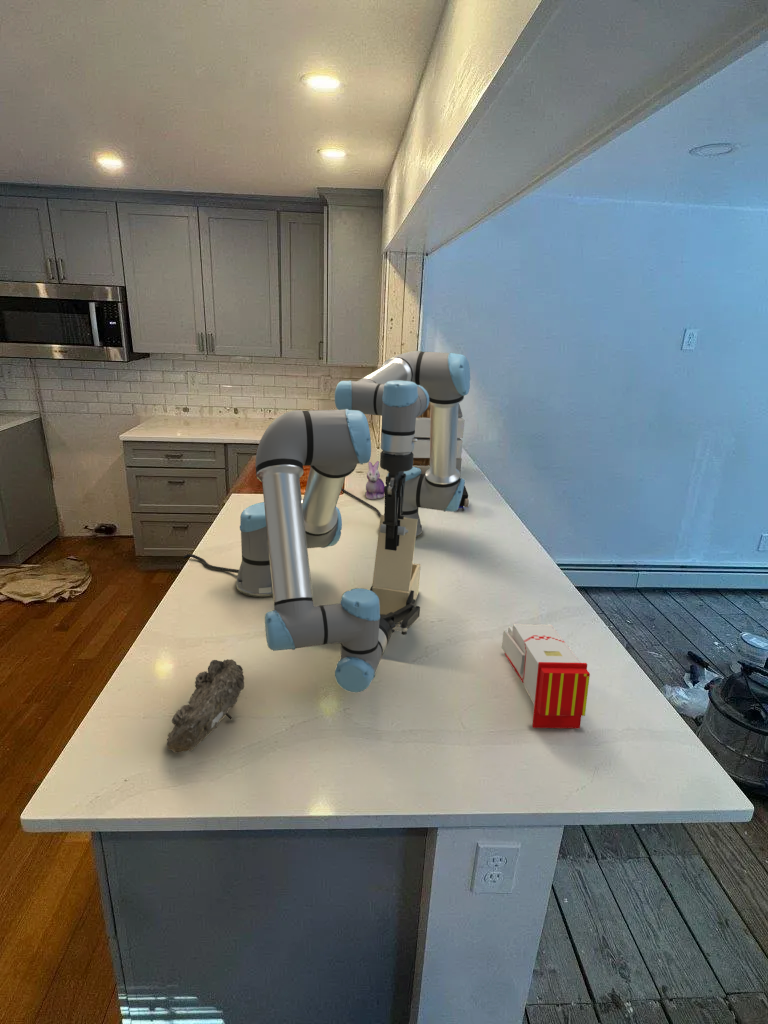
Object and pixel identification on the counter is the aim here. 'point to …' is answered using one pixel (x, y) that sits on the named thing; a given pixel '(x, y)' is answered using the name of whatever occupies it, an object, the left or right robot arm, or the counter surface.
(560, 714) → the toy
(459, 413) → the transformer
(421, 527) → the right robot arm
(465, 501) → the figurine character
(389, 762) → the counter surface
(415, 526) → the lid
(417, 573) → the chest
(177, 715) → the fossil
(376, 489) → the figurine
